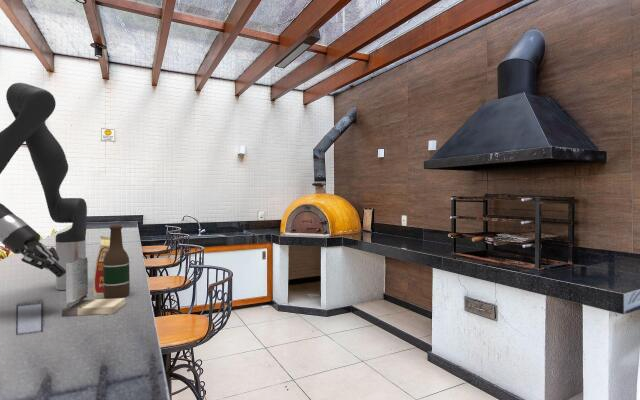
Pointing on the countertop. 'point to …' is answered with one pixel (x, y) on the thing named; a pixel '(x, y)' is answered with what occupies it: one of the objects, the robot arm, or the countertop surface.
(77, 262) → the slab
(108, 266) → the beer bottle
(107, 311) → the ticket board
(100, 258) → the milk carton
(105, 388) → the countertop surface
